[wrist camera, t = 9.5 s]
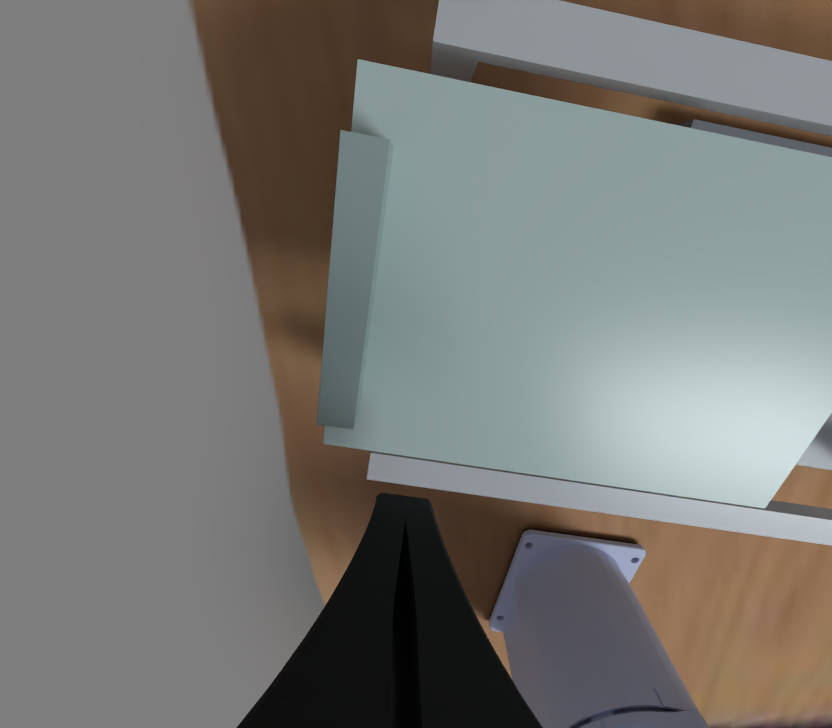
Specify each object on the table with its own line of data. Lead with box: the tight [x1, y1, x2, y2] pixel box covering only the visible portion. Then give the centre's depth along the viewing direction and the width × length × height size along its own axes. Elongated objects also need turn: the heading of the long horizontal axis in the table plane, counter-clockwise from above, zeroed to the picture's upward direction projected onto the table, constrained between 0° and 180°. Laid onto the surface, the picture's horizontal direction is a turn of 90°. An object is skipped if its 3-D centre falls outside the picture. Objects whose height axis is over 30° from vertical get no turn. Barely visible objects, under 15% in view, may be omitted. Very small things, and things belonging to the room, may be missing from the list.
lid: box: [317, 59, 832, 509], centre depth 10 cm, size 10×15×2 cm, turn 80°
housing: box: [367, 0, 832, 545], centre depth 15 cm, size 14×30×7 cm, turn 80°
